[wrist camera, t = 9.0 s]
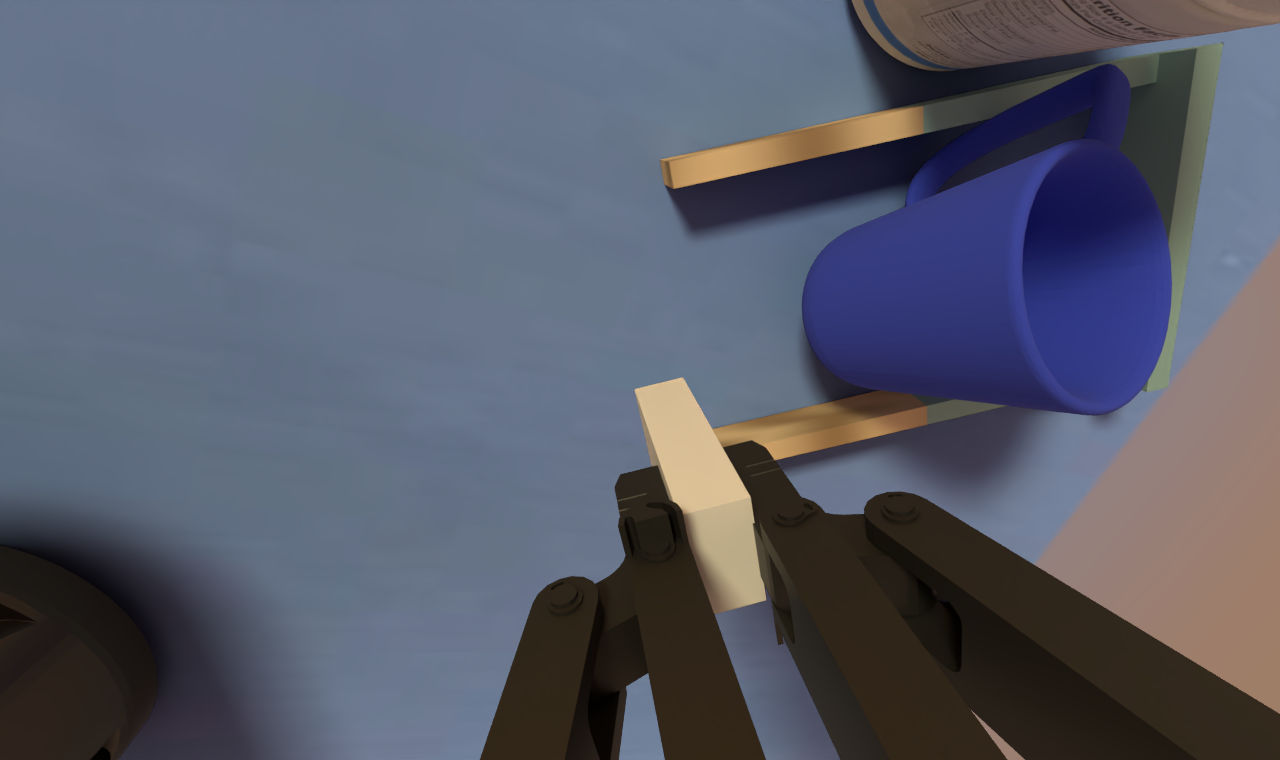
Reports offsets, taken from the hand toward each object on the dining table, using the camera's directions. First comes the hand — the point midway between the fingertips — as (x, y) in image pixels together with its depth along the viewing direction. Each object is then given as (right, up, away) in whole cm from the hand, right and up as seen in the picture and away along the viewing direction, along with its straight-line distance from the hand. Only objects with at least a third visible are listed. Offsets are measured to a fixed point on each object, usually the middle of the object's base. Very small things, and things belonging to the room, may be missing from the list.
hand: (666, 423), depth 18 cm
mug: (+9, +6, +9) cm, 14 cm away
